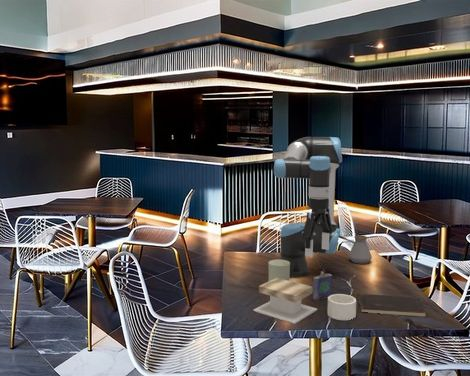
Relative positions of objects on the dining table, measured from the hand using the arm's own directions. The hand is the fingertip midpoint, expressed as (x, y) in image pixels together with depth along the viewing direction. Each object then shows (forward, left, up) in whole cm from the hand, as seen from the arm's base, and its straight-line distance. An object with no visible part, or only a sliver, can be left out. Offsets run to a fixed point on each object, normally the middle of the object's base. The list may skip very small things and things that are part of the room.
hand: (317, 252), depth 179 cm
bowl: (+12, -2, -21) cm, 24 cm away
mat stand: (-6, -12, -21) cm, 25 cm away
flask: (-2, +9, -21) cm, 23 cm away
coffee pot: (-15, +62, -21) cm, 68 cm away
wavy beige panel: (-6, -12, -14) cm, 19 cm away
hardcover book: (+23, +17, -22) cm, 36 cm away
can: (-21, +6, -21) cm, 31 cm away
